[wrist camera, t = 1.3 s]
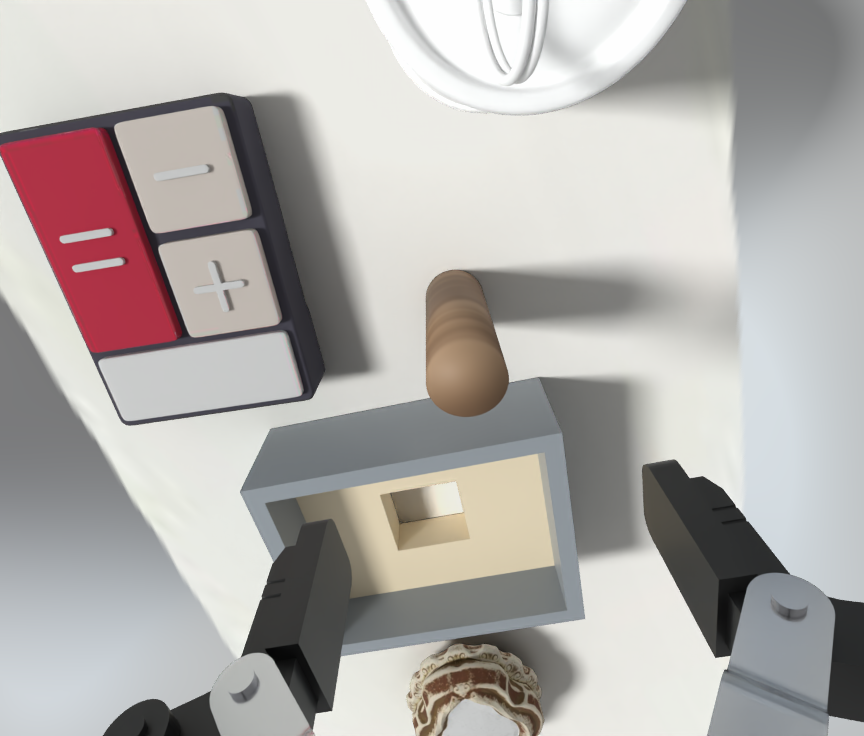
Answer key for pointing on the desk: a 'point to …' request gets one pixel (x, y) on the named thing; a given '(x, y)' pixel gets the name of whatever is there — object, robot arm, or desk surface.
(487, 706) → the hand mirror
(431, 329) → the peg
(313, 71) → the desk surface
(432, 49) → the white cylindrical bottle
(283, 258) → the calculator
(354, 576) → the grey open box
